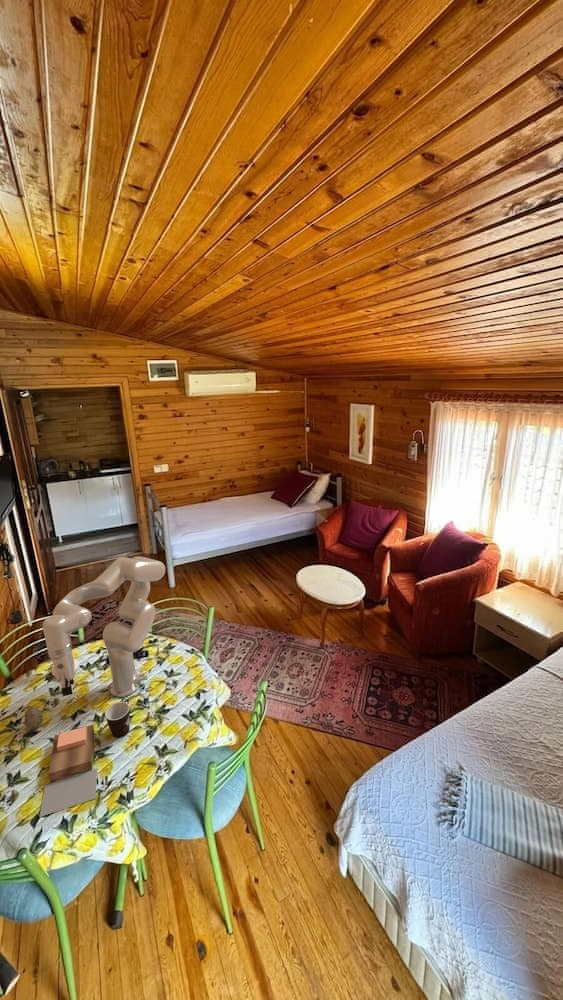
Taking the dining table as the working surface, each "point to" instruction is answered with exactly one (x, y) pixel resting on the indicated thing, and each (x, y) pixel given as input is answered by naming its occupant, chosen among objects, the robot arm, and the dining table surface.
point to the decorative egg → (33, 718)
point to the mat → (69, 792)
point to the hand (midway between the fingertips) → (68, 689)
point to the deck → (72, 758)
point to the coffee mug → (118, 718)
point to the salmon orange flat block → (72, 738)
